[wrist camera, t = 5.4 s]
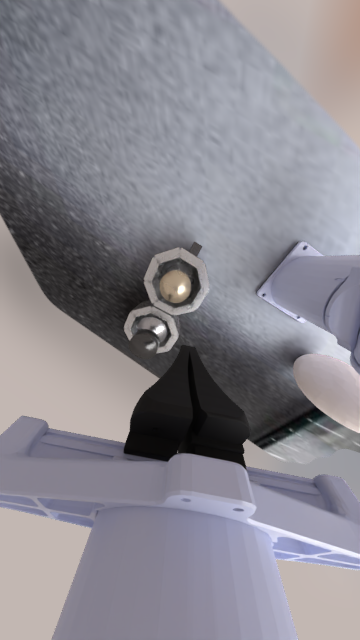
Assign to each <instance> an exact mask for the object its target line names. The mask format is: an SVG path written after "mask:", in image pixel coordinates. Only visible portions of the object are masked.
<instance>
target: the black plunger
mask: <svg viewBox="0 0 360 640" xmlns="http://www.w3.org/2000/svg"><path fill="white" fill-rule="evenodd" d="M166 334H167V326H166V324H165V322H164V321H163V320H162V319H160V318H159V317H156V316H146V317H144V318H142V319H141V320H140V322H139V323H138V325H137V332H136V333H135V334H134V335H133V337H132V338H131V339H130V341H129V349H130V351H131V352H132V354H134V355H135V356H136V357H138V358H142V359H149V358H152V357H153V356H155V355H156V353H157V350H158V347H159V344H160V342H161V341H163V340H164V339H165V337H166Z"/></svg>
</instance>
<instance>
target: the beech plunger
mask: <svg viewBox="0 0 360 640" xmlns="http://www.w3.org/2000/svg"><path fill="white" fill-rule="evenodd" d="M193 287H194V276H193V273H192V271H191V270H190V269H189V268H188V267H187V266H185V265H182V264H175V265H172V266H170V267H168V268H167V269H166V270H165V272H164V274H163V277H162V279H161V281H160V285H159V288H160V292H161V294H162V296H163V297H164V298H165V299H166V300H167V301H169V302H172V303H179V302H182V301H184V300H185V299H186V298H187V297H188V296H189V294H190V292H191V291H192V289H193Z"/></svg>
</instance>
